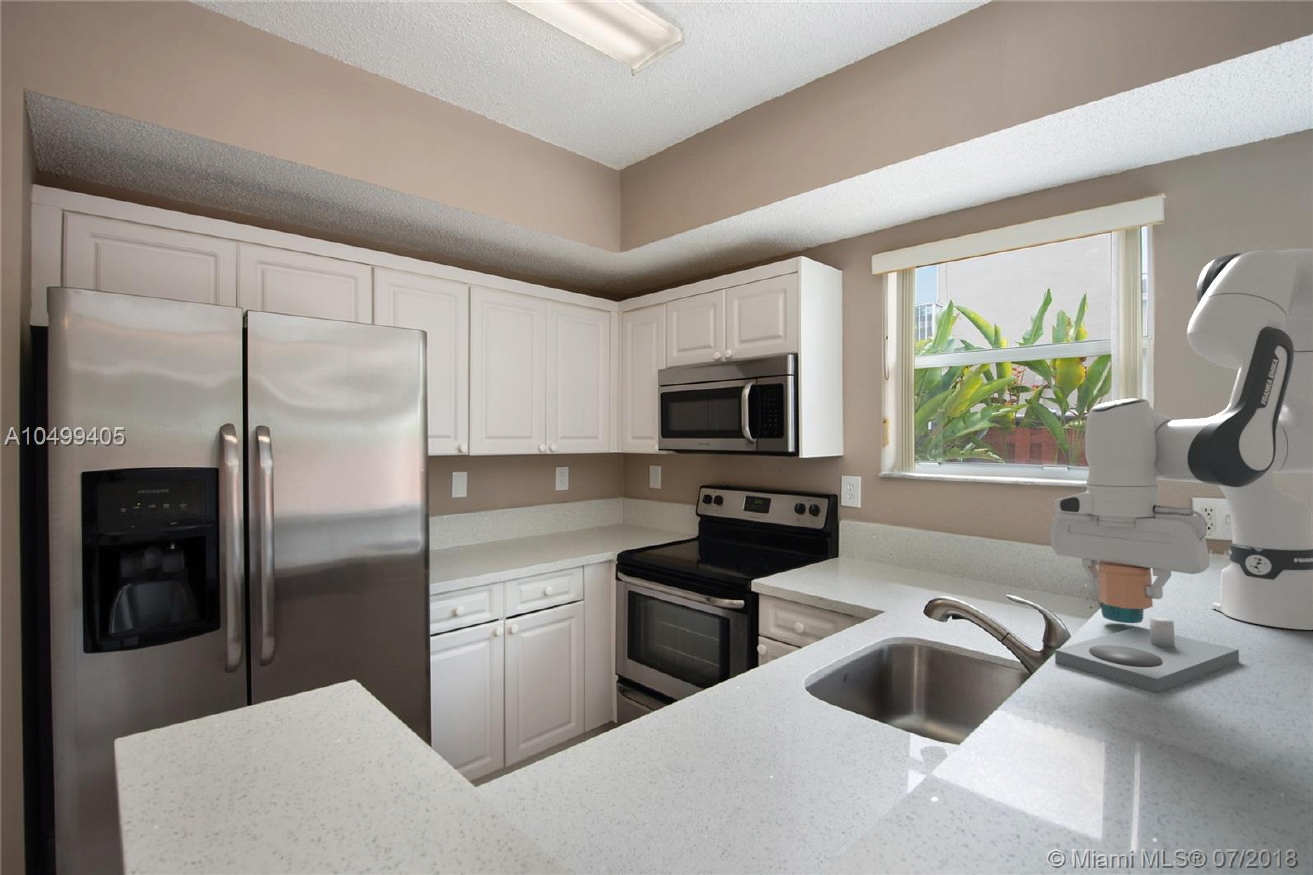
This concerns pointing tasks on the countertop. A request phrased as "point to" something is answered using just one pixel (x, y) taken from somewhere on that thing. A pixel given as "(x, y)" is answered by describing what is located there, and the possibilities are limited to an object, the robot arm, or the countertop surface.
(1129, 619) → the beverage bottle
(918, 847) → the countertop surface
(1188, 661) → the mount
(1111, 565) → the knob
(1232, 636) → the countertop surface
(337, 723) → the countertop surface
